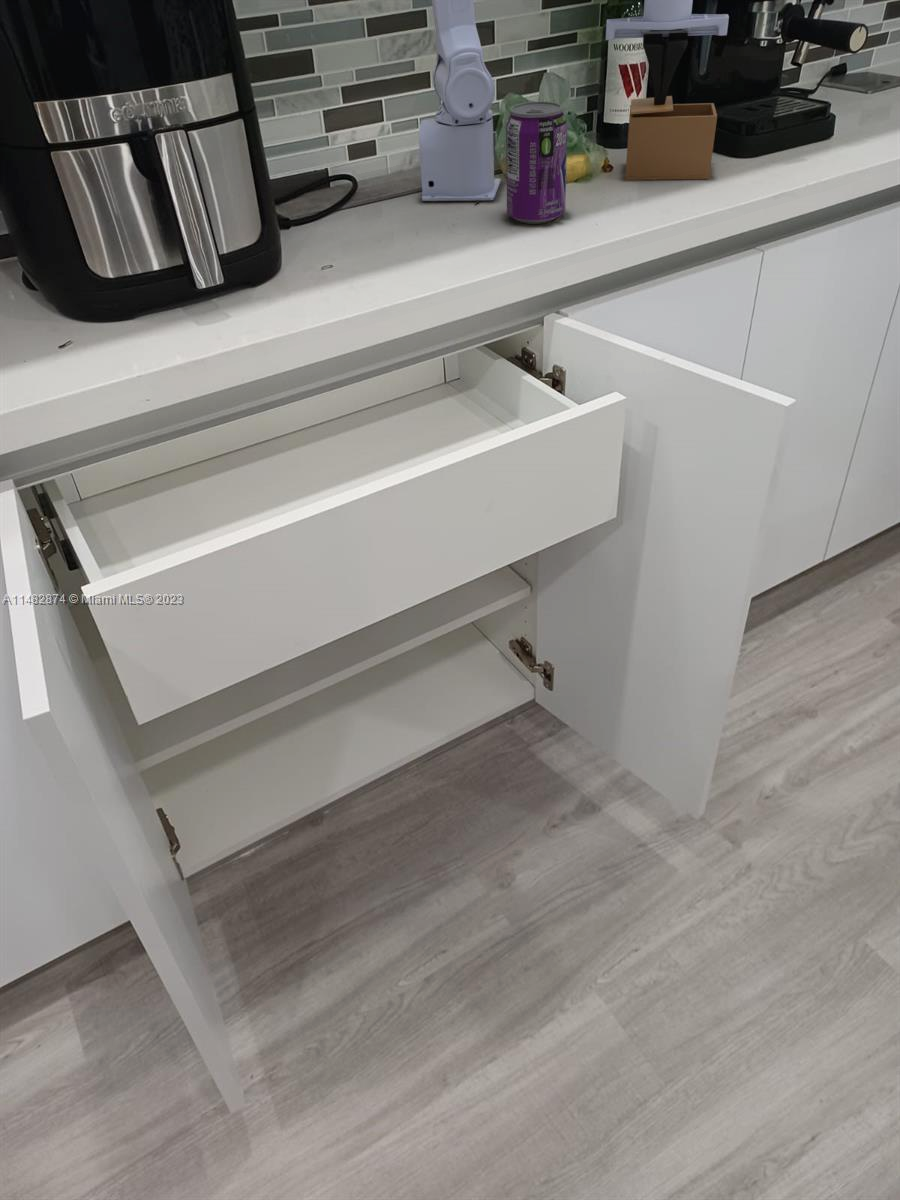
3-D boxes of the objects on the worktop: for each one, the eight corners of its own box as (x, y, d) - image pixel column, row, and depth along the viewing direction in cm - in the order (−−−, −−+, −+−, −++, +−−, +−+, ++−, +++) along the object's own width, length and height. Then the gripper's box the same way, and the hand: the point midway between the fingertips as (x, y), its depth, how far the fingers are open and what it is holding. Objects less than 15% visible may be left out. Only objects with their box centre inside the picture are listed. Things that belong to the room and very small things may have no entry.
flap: (630, 114, 110) (630, 111, 110) (631, 102, 115) (631, 99, 115) (673, 110, 109) (673, 108, 109) (671, 98, 114) (671, 95, 114)
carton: (625, 180, 116) (629, 118, 111) (626, 165, 121) (630, 105, 116) (709, 179, 114) (717, 116, 109) (706, 164, 119) (713, 103, 114)
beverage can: (561, 227, 103) (564, 114, 95) (502, 226, 105) (500, 115, 97) (567, 207, 108) (570, 99, 101) (511, 207, 110) (510, 100, 102)
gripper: (731, -34, 105) (715, 93, 114) (609, -28, 107) (603, 97, 116) (736, -26, 100) (719, 106, 109) (608, -20, 102) (601, 110, 111)
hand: (659, 102), depth 112 cm, fingers closed, pressing on flap
